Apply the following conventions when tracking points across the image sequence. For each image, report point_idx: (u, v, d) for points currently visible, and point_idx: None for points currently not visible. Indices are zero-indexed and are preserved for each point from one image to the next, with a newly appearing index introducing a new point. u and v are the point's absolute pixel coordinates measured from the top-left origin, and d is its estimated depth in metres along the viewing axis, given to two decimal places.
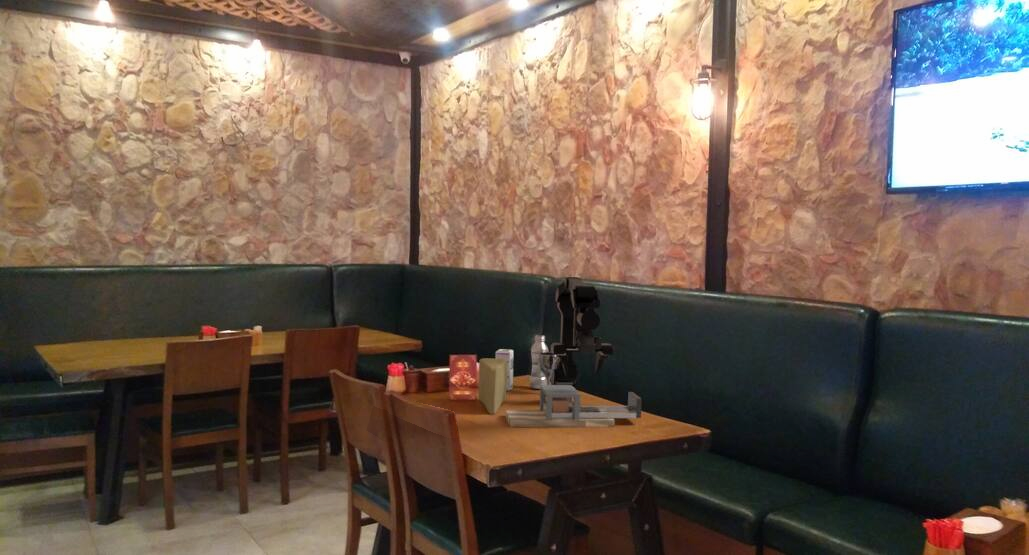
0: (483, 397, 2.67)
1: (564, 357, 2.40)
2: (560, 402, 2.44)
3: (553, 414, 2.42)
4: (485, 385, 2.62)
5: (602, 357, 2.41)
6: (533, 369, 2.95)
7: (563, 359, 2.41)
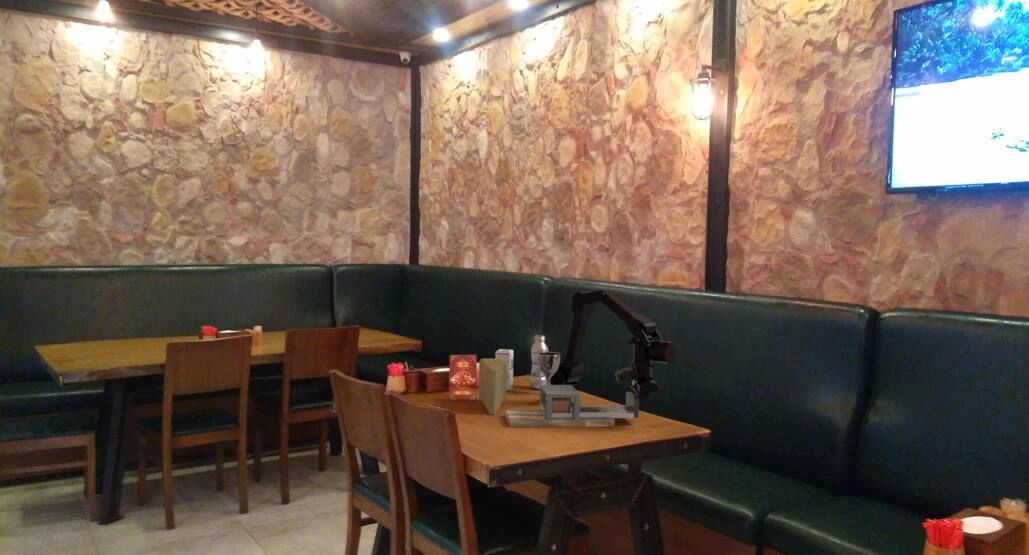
0: (483, 397, 2.66)
1: (632, 387, 2.51)
2: (560, 402, 2.44)
3: None
4: (485, 385, 2.61)
5: (634, 389, 2.48)
6: (533, 369, 2.95)
7: (634, 390, 2.51)
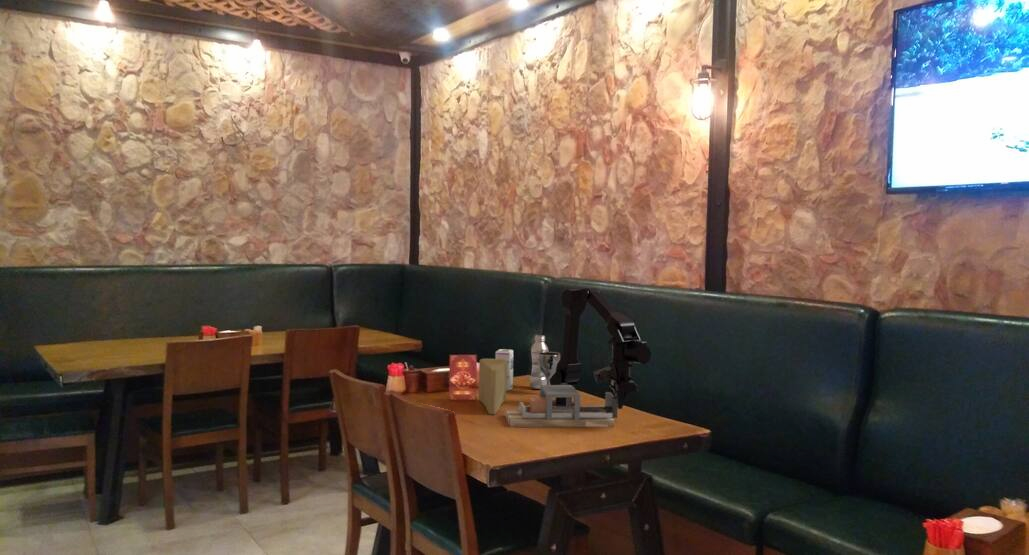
0: (483, 397, 2.66)
1: (611, 387, 2.50)
2: (539, 402, 2.44)
3: (529, 414, 2.41)
4: (485, 385, 2.61)
5: (613, 389, 2.47)
6: (533, 369, 2.95)
7: None
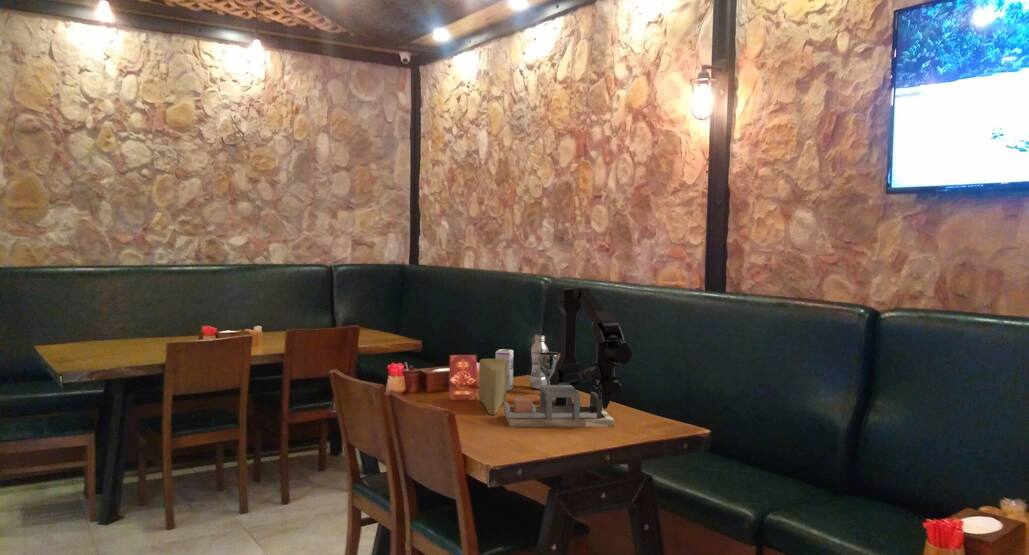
0: (483, 397, 2.66)
1: None
2: (523, 402, 2.43)
3: (513, 414, 2.40)
4: (485, 385, 2.61)
5: None
6: (533, 369, 2.95)
7: None
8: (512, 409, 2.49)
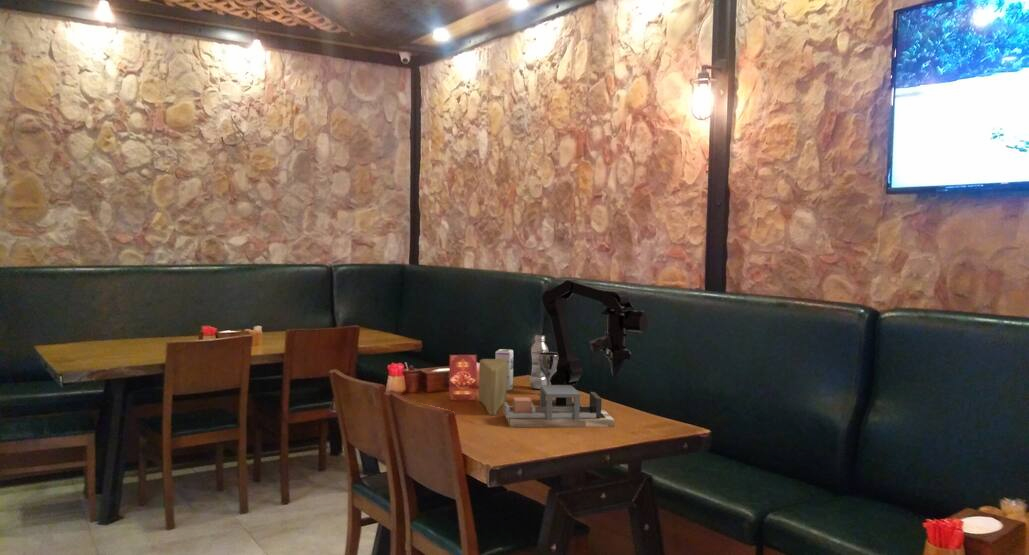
0: (483, 398, 2.65)
1: (606, 356, 2.61)
2: (523, 402, 2.43)
3: (512, 414, 2.40)
4: (485, 386, 2.60)
5: (608, 357, 2.58)
6: (533, 369, 2.95)
7: (608, 358, 2.61)
8: (511, 409, 2.49)
